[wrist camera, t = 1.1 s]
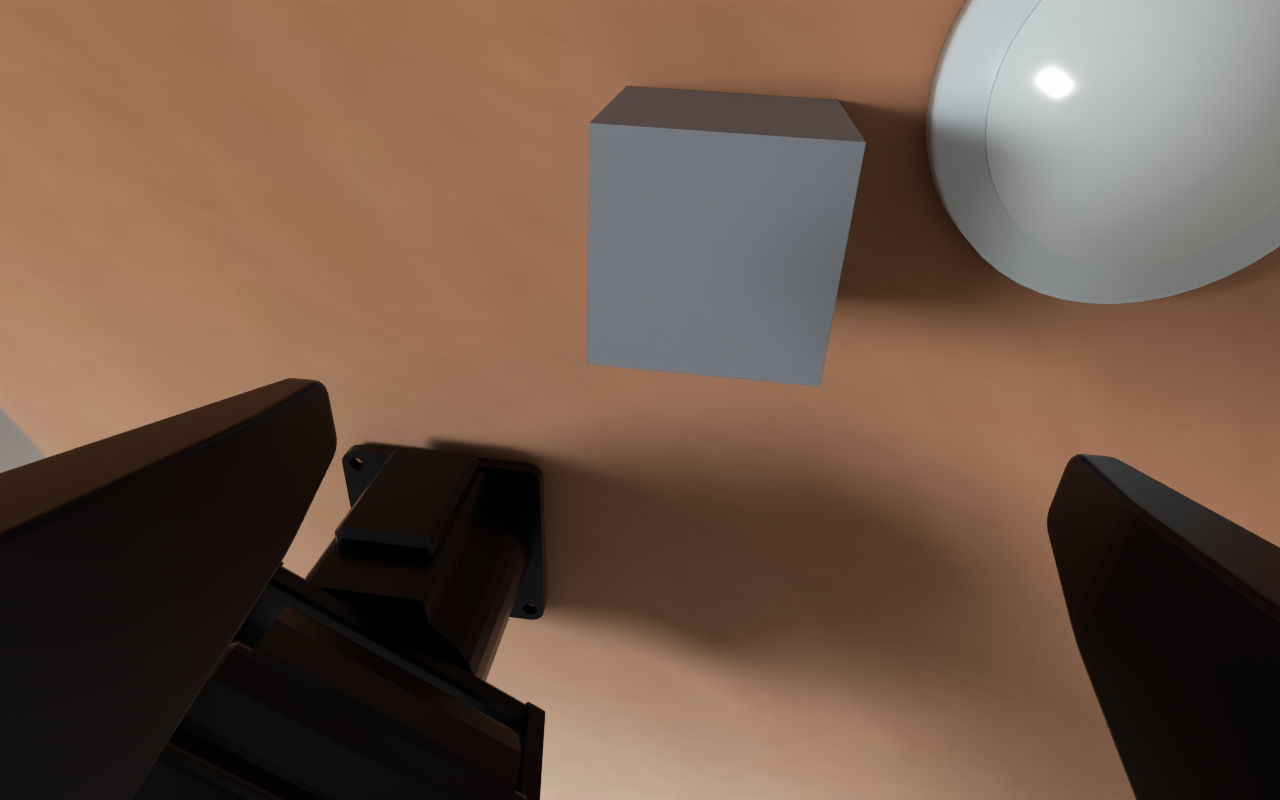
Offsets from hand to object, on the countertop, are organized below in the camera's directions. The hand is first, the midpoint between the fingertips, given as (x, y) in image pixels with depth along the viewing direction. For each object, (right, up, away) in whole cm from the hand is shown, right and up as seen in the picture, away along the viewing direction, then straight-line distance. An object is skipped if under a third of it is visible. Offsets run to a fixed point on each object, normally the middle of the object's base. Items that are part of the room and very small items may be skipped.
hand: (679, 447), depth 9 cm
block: (+2, +6, +10) cm, 12 cm away
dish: (+11, +7, +8) cm, 15 cm away
